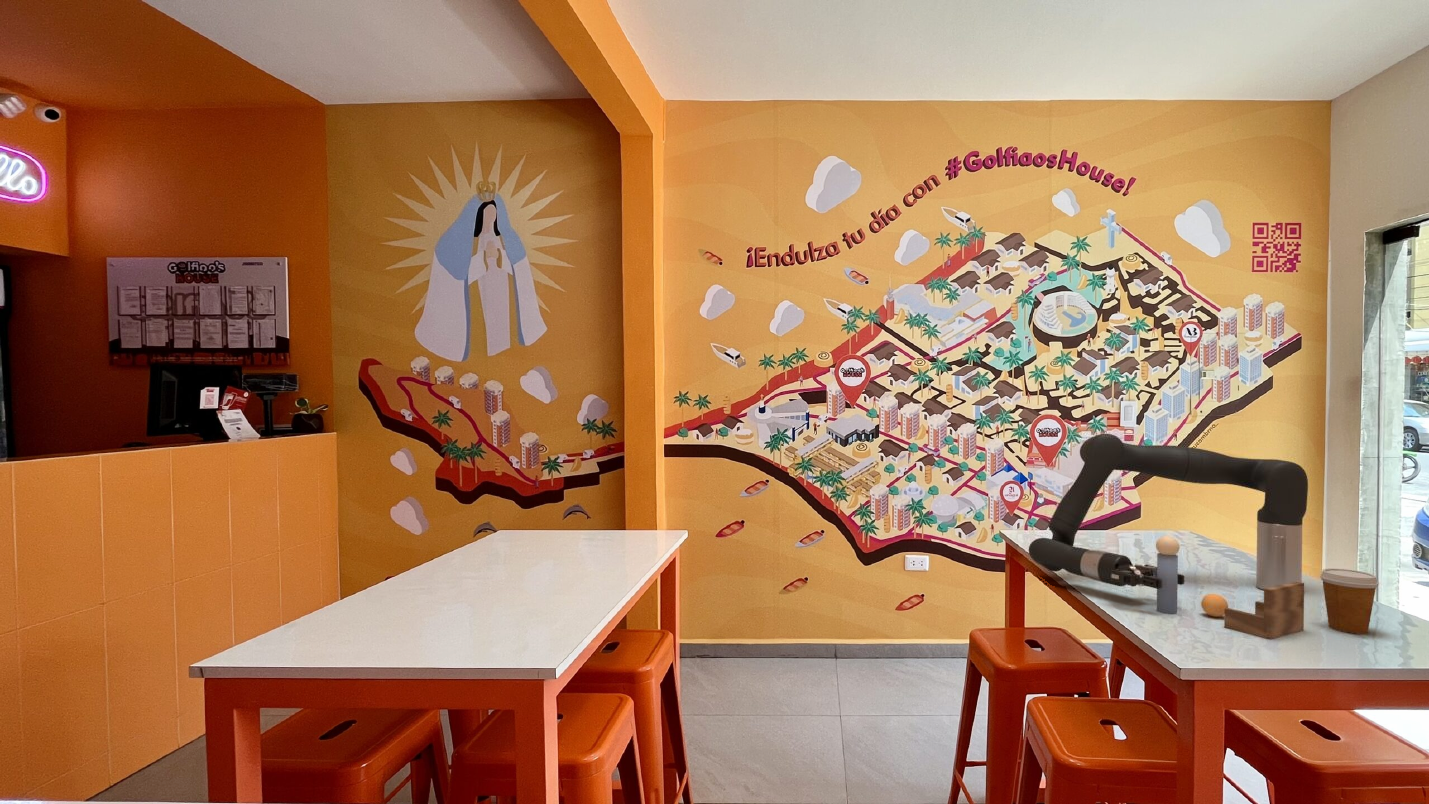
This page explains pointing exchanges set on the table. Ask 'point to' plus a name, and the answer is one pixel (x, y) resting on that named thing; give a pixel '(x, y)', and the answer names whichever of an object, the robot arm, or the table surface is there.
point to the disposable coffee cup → (1349, 599)
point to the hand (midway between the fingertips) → (1172, 582)
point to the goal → (1271, 613)
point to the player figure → (1167, 574)
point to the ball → (1214, 605)
